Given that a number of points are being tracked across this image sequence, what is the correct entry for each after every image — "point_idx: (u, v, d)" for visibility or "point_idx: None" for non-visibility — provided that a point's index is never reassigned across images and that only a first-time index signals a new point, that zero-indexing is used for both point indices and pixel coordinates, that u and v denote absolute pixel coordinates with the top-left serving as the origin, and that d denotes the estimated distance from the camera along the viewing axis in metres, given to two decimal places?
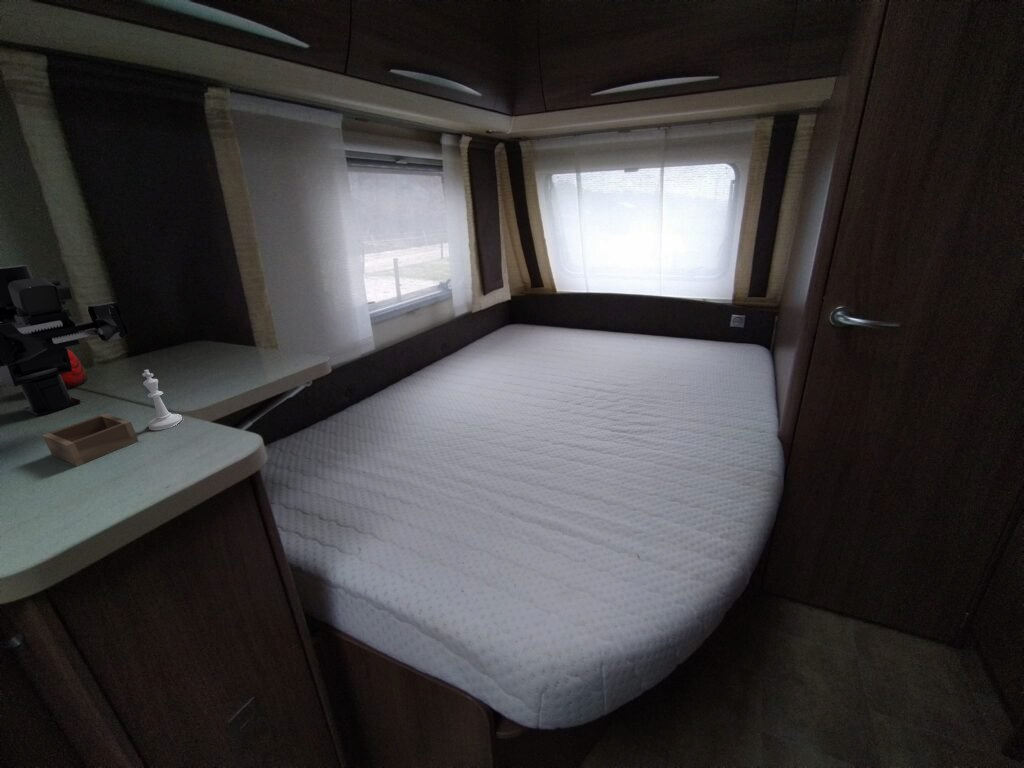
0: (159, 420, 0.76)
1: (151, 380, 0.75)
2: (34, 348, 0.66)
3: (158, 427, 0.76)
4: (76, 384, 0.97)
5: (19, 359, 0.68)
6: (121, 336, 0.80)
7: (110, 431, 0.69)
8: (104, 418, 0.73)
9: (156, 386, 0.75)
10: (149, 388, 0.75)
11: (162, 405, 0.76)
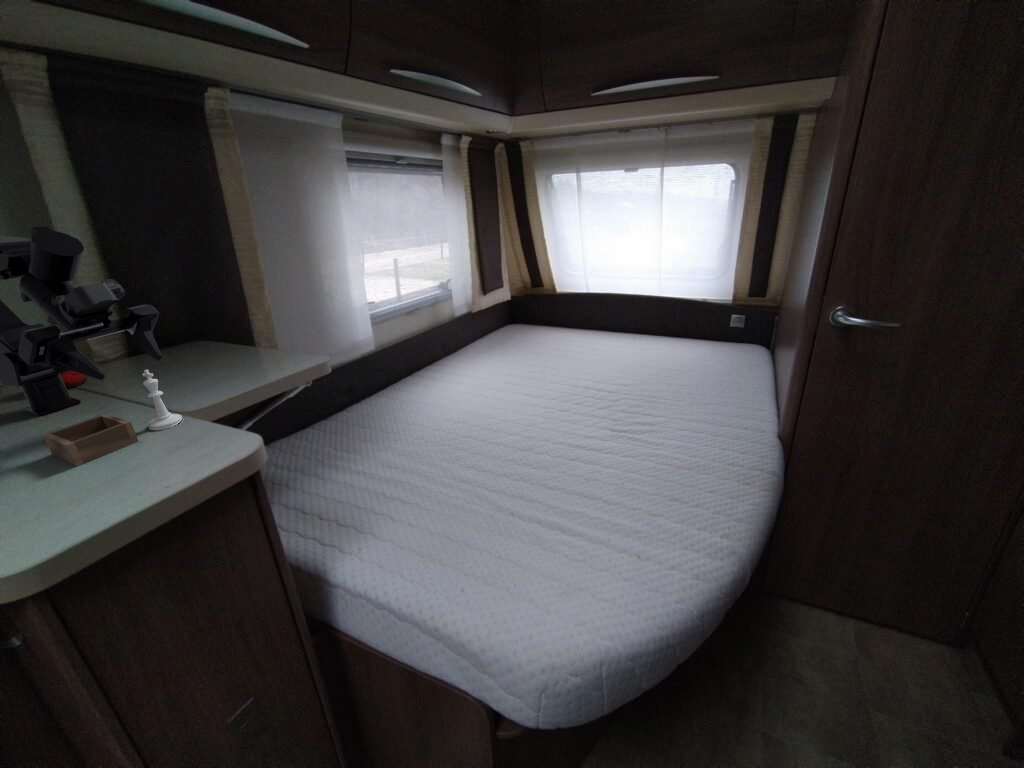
0: (159, 420, 0.76)
1: (151, 380, 0.75)
2: (89, 373, 0.70)
3: (158, 427, 0.76)
4: (76, 384, 0.97)
5: (62, 367, 0.70)
6: None
7: (110, 431, 0.69)
8: (104, 418, 0.73)
9: (156, 386, 0.75)
10: (149, 388, 0.75)
11: (162, 405, 0.76)
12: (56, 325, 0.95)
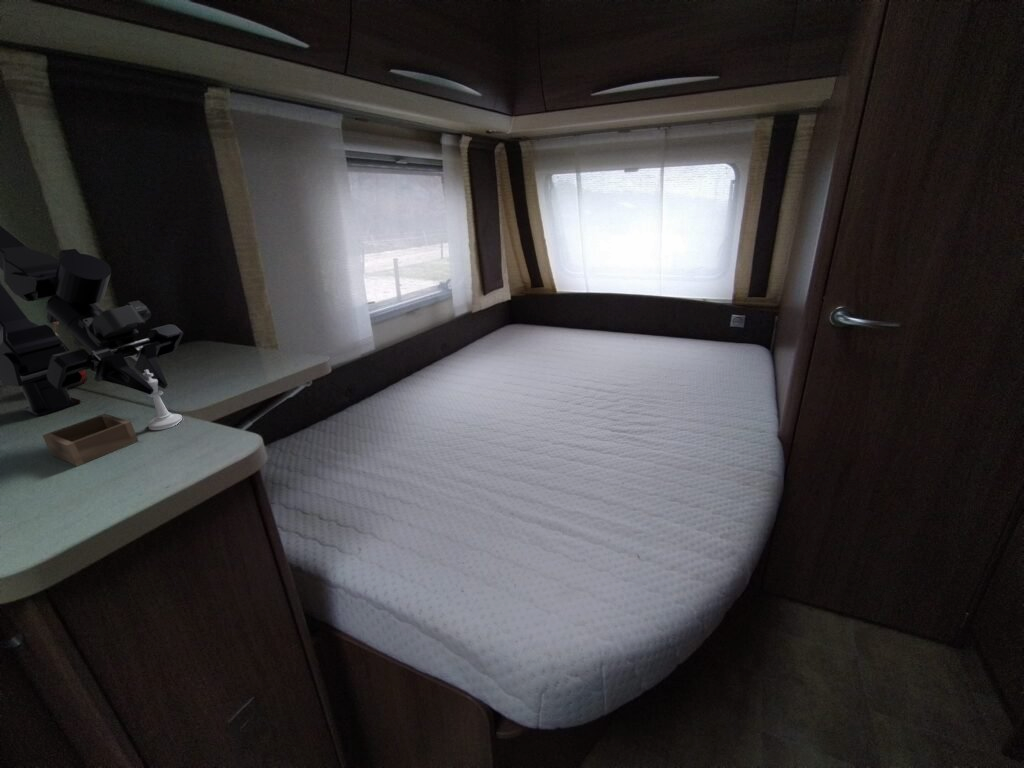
0: (159, 420, 0.76)
1: (151, 380, 0.75)
2: (139, 388, 0.73)
3: (158, 427, 0.76)
4: (76, 384, 0.97)
5: (113, 382, 0.73)
6: None
7: (110, 431, 0.69)
8: (104, 418, 0.73)
9: (156, 386, 0.75)
10: None
11: (162, 405, 0.76)
12: (56, 325, 0.95)
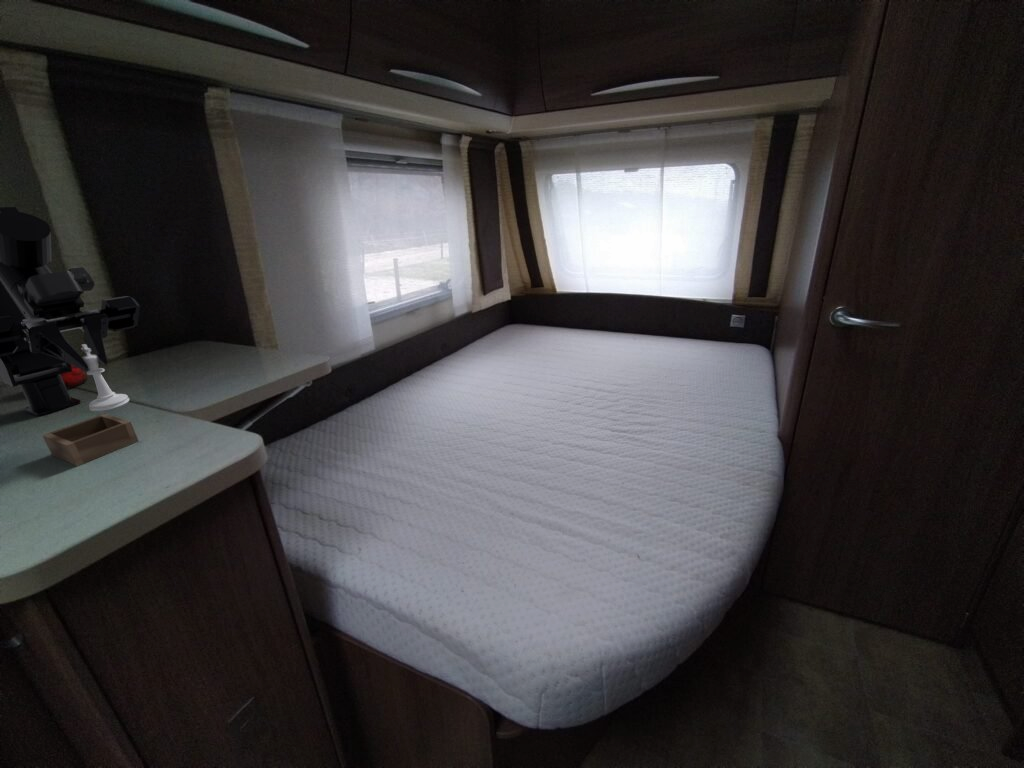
0: (99, 400, 0.70)
1: (89, 356, 0.68)
2: (74, 363, 0.67)
3: (96, 408, 0.69)
4: (76, 384, 0.97)
5: (50, 355, 0.67)
6: (101, 338, 0.73)
7: (110, 431, 0.69)
8: (104, 418, 0.73)
9: (95, 363, 0.68)
10: (87, 364, 0.68)
11: (103, 384, 0.70)
12: None
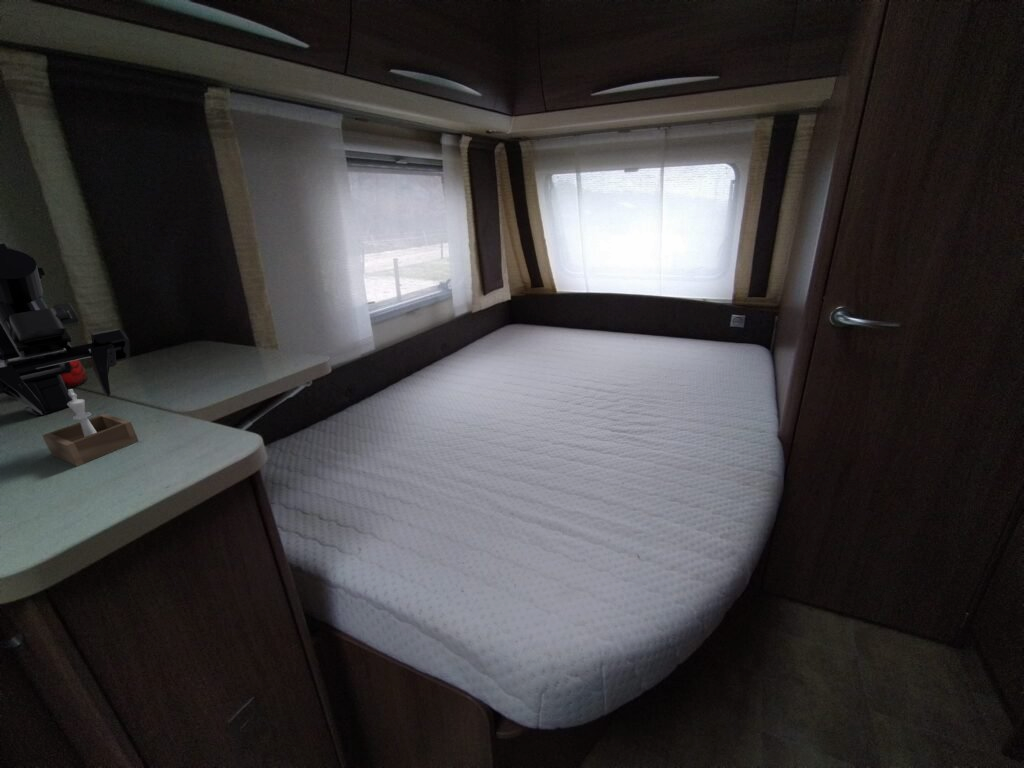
0: None
1: (75, 401, 0.67)
2: (32, 406, 0.64)
3: None
4: (76, 384, 0.97)
5: (12, 396, 0.65)
6: (111, 366, 0.74)
7: (110, 431, 0.69)
8: (104, 418, 0.73)
9: (81, 408, 0.68)
10: (73, 409, 0.68)
11: (89, 428, 0.69)
12: None
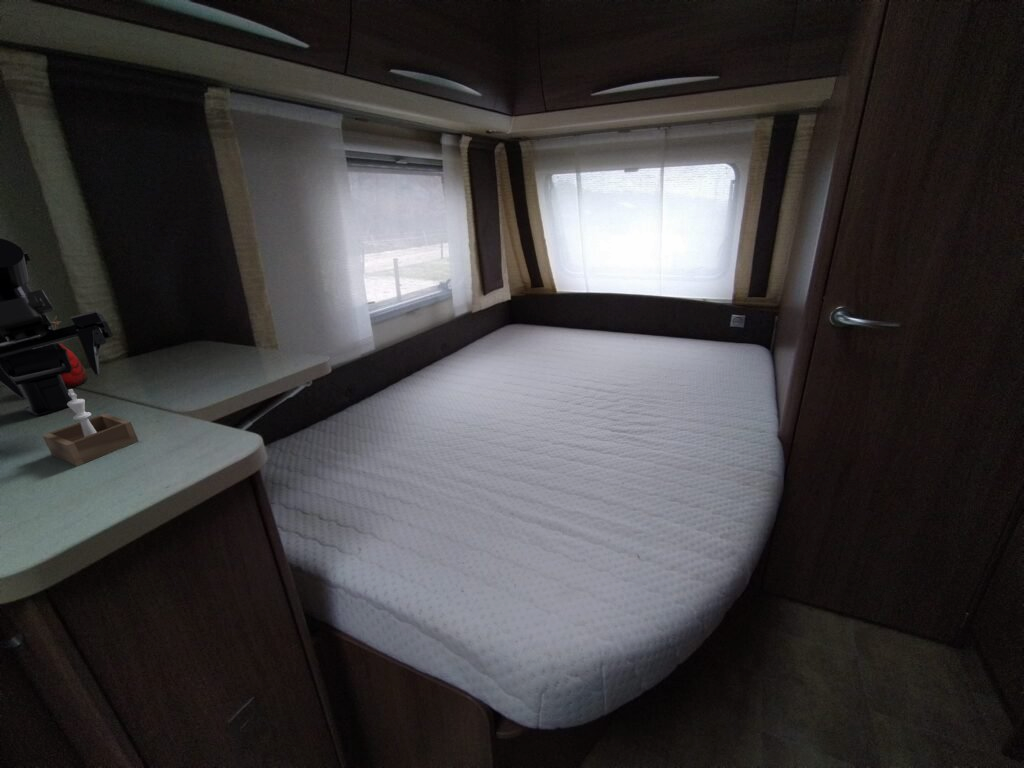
0: None
1: (75, 401, 0.67)
2: None
3: None
4: (76, 384, 0.97)
5: None
6: (101, 344, 0.79)
7: (110, 431, 0.69)
8: (104, 418, 0.73)
9: (81, 408, 0.68)
10: (73, 409, 0.68)
11: (89, 428, 0.69)
12: (56, 325, 0.95)
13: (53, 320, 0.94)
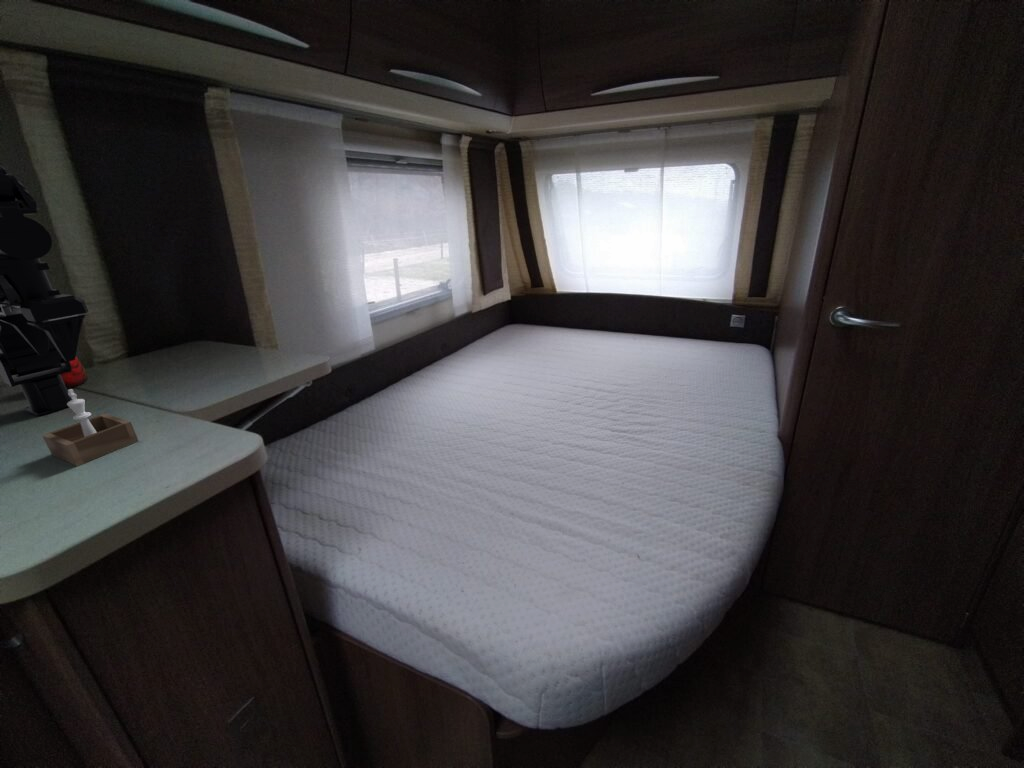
0: None
1: (75, 401, 0.67)
2: None
3: None
4: (76, 384, 0.97)
5: None
6: (82, 317, 0.69)
7: (110, 431, 0.69)
8: (104, 418, 0.73)
9: (81, 408, 0.68)
10: (73, 409, 0.68)
11: (89, 428, 0.69)
12: None
13: None
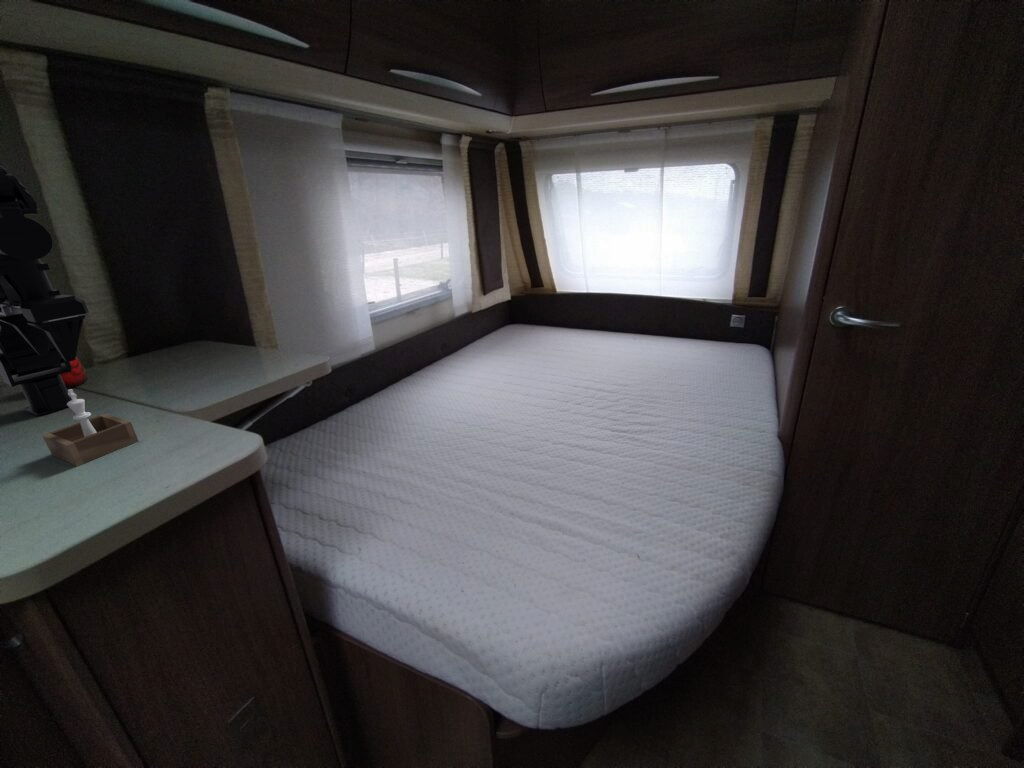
0: None
1: (75, 401, 0.67)
2: None
3: None
4: (76, 384, 0.97)
5: None
6: None
7: (110, 431, 0.69)
8: (104, 418, 0.73)
9: (81, 408, 0.68)
10: (73, 409, 0.68)
11: (89, 428, 0.69)
12: None
13: None
